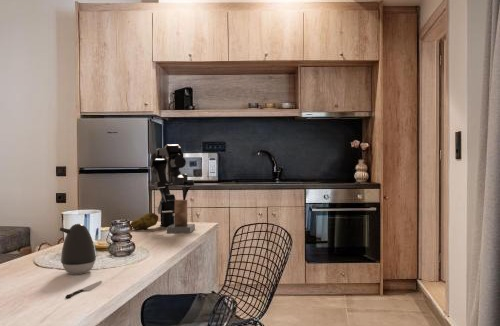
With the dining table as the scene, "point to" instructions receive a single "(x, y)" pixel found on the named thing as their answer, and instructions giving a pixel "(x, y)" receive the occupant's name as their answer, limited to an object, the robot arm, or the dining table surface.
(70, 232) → the pump dispenser
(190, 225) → the slate base
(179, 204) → the walnut cylinder
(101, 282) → the chef's knife
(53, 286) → the dining table surface
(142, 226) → the green bumpy oblong piece
